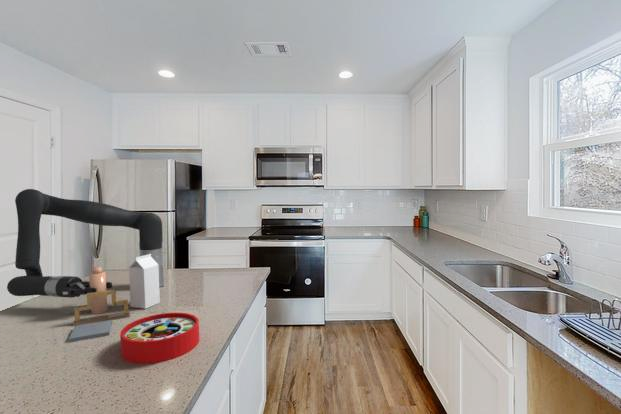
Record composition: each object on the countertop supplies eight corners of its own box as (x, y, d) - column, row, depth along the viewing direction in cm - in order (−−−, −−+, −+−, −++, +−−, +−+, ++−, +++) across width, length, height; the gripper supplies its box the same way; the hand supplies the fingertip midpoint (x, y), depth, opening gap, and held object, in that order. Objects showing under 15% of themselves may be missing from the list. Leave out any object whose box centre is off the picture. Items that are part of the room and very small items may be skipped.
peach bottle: (108, 307, 124) (106, 265, 124) (106, 312, 120) (104, 268, 119) (92, 310, 122) (89, 266, 121) (90, 314, 118) (87, 269, 117)
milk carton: (160, 303, 129) (158, 254, 128) (145, 309, 122) (143, 258, 121) (145, 301, 131) (143, 253, 130) (130, 307, 125) (128, 256, 124)
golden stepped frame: (129, 314, 118) (128, 287, 117) (129, 316, 115) (128, 289, 115) (75, 322, 111) (73, 294, 110) (73, 325, 108) (71, 296, 108)
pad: (111, 323, 110) (111, 320, 110) (109, 335, 101) (109, 331, 101) (75, 329, 105) (74, 326, 105) (68, 342, 96) (68, 338, 96)
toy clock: (103, 343, 84) (142, 313, 104) (104, 365, 84) (143, 331, 104) (184, 341, 84) (207, 311, 104) (185, 364, 84) (207, 330, 104)
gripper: (44, 281, 116) (86, 283, 113) (79, 271, 130) (118, 272, 127) (45, 303, 116) (88, 305, 113) (80, 290, 130) (118, 292, 127)
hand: (103, 288), depth 120 cm, fingers open, 6 cm apart
